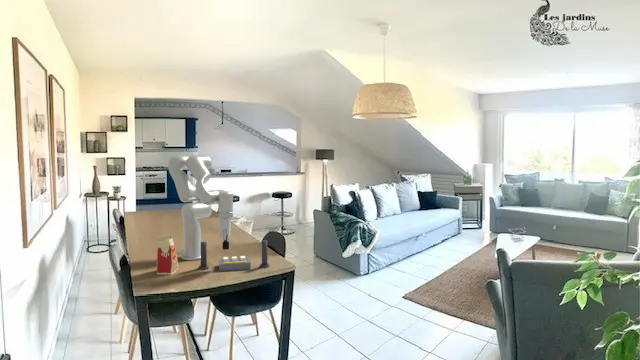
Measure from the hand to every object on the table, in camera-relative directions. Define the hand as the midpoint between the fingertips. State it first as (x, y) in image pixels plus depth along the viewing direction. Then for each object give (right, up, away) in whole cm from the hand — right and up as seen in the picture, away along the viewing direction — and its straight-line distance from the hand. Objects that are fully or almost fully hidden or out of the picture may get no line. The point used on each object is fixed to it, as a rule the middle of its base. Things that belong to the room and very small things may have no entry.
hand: (225, 248), depth 212 cm
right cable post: (+20, -10, +4) cm, 23 cm away
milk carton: (-29, -11, -8) cm, 32 cm away
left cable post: (-12, -10, -1) cm, 15 cm away
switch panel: (+4, -11, +2) cm, 11 cm away
